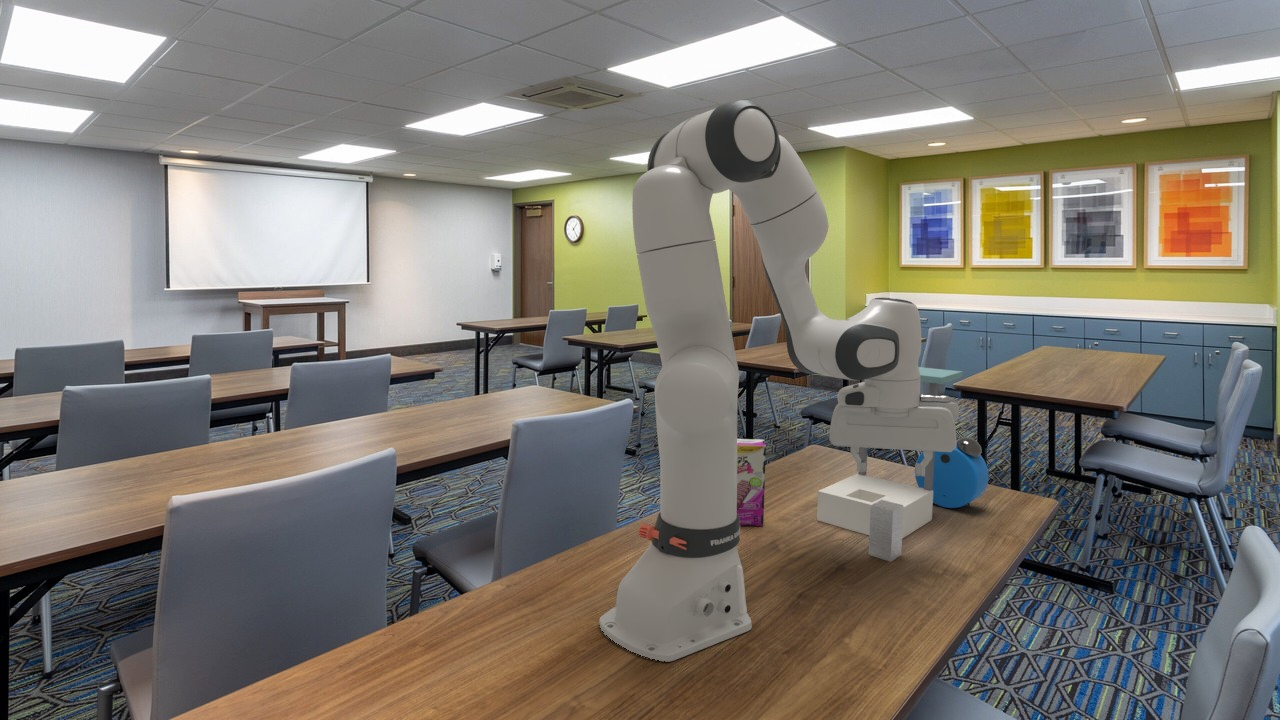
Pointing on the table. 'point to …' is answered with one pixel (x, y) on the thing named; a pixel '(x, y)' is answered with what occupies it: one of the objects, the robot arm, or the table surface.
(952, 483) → the alarm clock
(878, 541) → the steel peg
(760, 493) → the candy bar box
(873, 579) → the table surface
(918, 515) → the socket block
